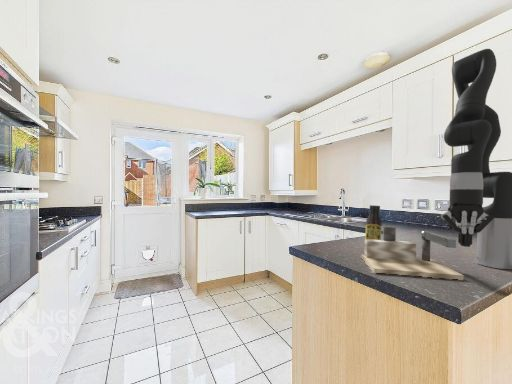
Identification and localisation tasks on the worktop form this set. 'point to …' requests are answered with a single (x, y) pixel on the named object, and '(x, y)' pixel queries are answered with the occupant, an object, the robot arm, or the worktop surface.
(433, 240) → the latch bar
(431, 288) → the worktop surface
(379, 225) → the sauce bottle
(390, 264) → the door frame board
